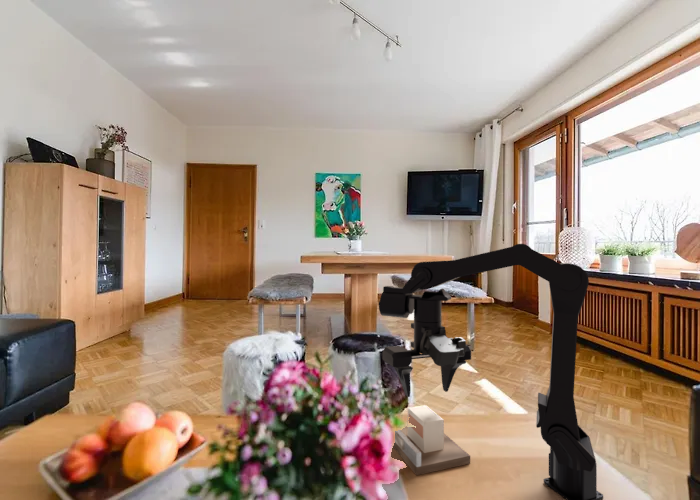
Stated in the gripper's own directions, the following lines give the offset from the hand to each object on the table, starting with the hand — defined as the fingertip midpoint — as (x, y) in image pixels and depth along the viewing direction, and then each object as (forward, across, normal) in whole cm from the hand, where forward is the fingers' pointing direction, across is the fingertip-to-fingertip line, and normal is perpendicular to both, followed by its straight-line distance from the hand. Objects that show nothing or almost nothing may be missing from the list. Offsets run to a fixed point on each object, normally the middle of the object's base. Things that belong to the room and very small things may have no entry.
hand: (427, 393), depth 72 cm
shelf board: (+11, -1, 0) cm, 11 cm away
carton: (+10, -1, 0) cm, 10 cm away
